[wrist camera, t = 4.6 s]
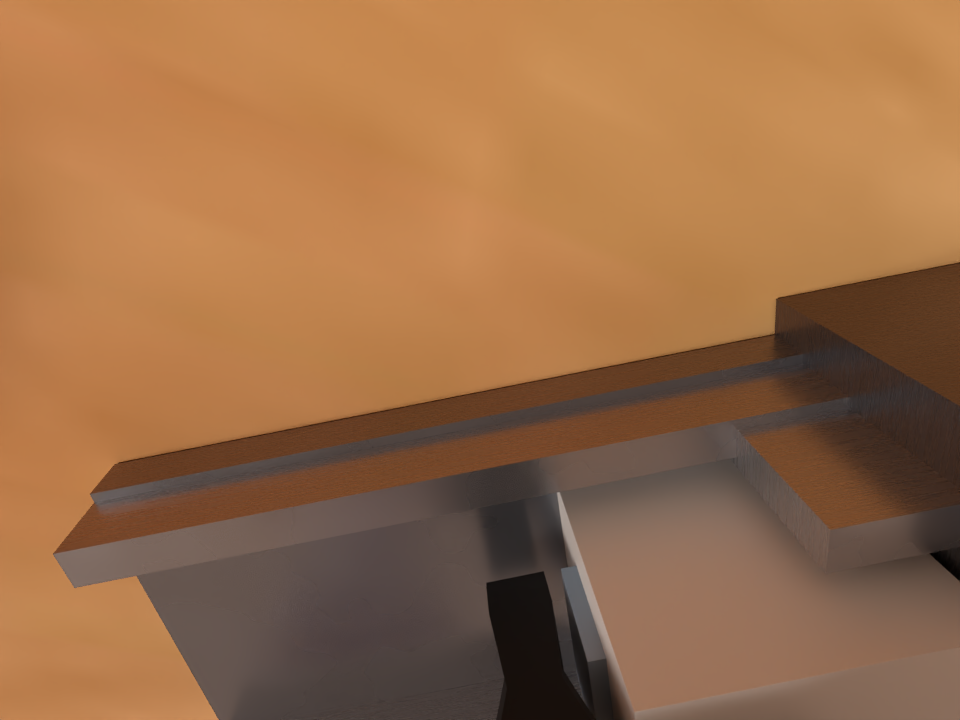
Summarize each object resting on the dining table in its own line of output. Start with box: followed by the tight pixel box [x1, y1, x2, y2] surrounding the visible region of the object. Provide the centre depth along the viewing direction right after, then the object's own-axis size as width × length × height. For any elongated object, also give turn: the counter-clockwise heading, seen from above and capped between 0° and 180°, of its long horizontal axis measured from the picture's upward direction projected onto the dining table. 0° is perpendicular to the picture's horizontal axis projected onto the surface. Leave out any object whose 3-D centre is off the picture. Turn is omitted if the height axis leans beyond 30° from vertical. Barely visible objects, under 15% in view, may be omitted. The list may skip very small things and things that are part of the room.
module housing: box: [53, 263, 960, 720], centre depth 12 cm, size 13×19×6 cm
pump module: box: [557, 459, 960, 720], centre depth 10 cm, size 5×5×6 cm
